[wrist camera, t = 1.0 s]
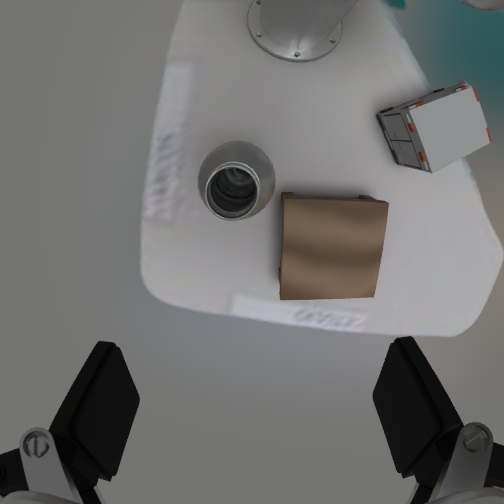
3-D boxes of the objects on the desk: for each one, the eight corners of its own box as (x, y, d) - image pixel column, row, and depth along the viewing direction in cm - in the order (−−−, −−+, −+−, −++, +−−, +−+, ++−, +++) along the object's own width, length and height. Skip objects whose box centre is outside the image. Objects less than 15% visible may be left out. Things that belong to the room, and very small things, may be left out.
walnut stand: (279, 190, 38) (284, 198, 33) (370, 194, 38) (388, 203, 33) (276, 279, 43) (280, 300, 37) (360, 278, 43) (373, 297, 37)
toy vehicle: (471, 134, 34) (512, 138, 25) (395, 171, 37) (433, 181, 28) (451, 79, 31) (491, 72, 22) (369, 109, 34) (404, 102, 25)
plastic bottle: (209, 183, 38) (169, 225, 19) (227, 135, 36) (201, 127, 17) (255, 199, 39) (259, 256, 20) (274, 152, 36) (298, 162, 18)
